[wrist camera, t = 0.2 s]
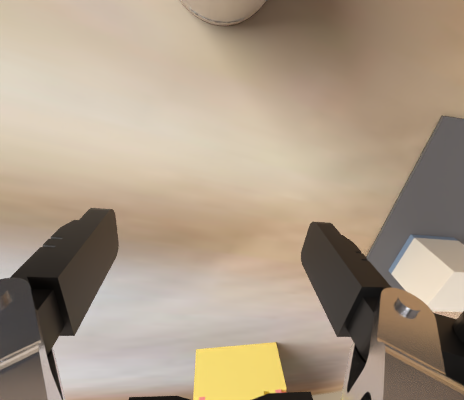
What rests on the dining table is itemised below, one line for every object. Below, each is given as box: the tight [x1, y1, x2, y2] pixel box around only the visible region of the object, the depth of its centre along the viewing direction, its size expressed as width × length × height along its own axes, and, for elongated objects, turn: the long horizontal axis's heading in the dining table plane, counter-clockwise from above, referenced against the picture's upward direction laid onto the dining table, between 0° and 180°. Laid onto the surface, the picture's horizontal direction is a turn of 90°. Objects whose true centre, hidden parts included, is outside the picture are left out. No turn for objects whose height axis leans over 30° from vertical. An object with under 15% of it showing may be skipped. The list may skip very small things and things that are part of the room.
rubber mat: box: [366, 116, 464, 291], centre depth 33 cm, size 27×16×1 cm, turn 172°
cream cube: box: [388, 235, 464, 312], centre depth 33 cm, size 7×7×7 cm
